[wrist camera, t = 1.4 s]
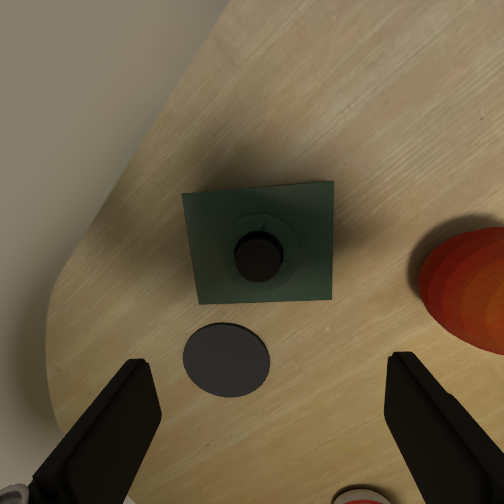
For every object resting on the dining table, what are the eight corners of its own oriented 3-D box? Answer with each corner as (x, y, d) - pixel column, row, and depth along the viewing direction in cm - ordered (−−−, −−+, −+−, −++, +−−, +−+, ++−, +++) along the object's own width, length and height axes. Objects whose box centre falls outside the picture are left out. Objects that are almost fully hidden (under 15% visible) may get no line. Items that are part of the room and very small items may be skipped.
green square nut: (207, 289, 24) (192, 315, 20) (193, 192, 22) (172, 194, 17) (323, 284, 23) (337, 310, 19) (324, 181, 21) (340, 180, 16)
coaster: (190, 394, 29) (189, 397, 28) (177, 323, 26) (176, 326, 26) (271, 394, 28) (271, 397, 27) (266, 321, 25) (266, 323, 25)
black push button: (240, 273, 19) (237, 284, 17) (236, 235, 18) (232, 241, 16) (280, 271, 18) (281, 282, 16) (278, 232, 18) (279, 238, 16)
